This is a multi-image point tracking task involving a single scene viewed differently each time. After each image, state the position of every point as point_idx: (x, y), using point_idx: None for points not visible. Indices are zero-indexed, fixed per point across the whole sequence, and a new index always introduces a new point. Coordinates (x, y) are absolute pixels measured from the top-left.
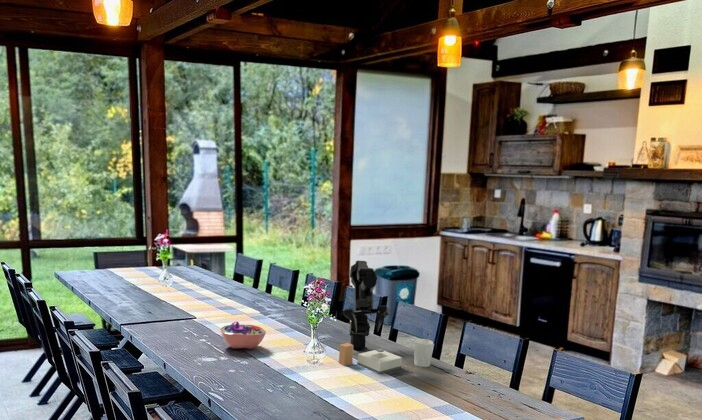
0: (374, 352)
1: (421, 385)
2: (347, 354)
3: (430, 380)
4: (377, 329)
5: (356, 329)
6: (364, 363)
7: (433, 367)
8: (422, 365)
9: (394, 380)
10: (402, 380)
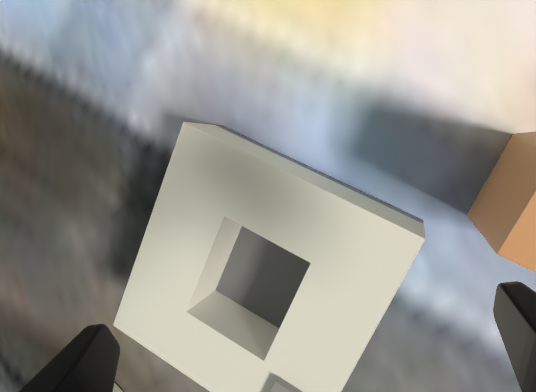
0: (310, 349)
1: (9, 102)
2: (520, 164)
3: (4, 195)
4: (75, 339)
5: (528, 372)
6: (347, 189)
7: None
8: None
9: (121, 81)
10: (92, 110)
